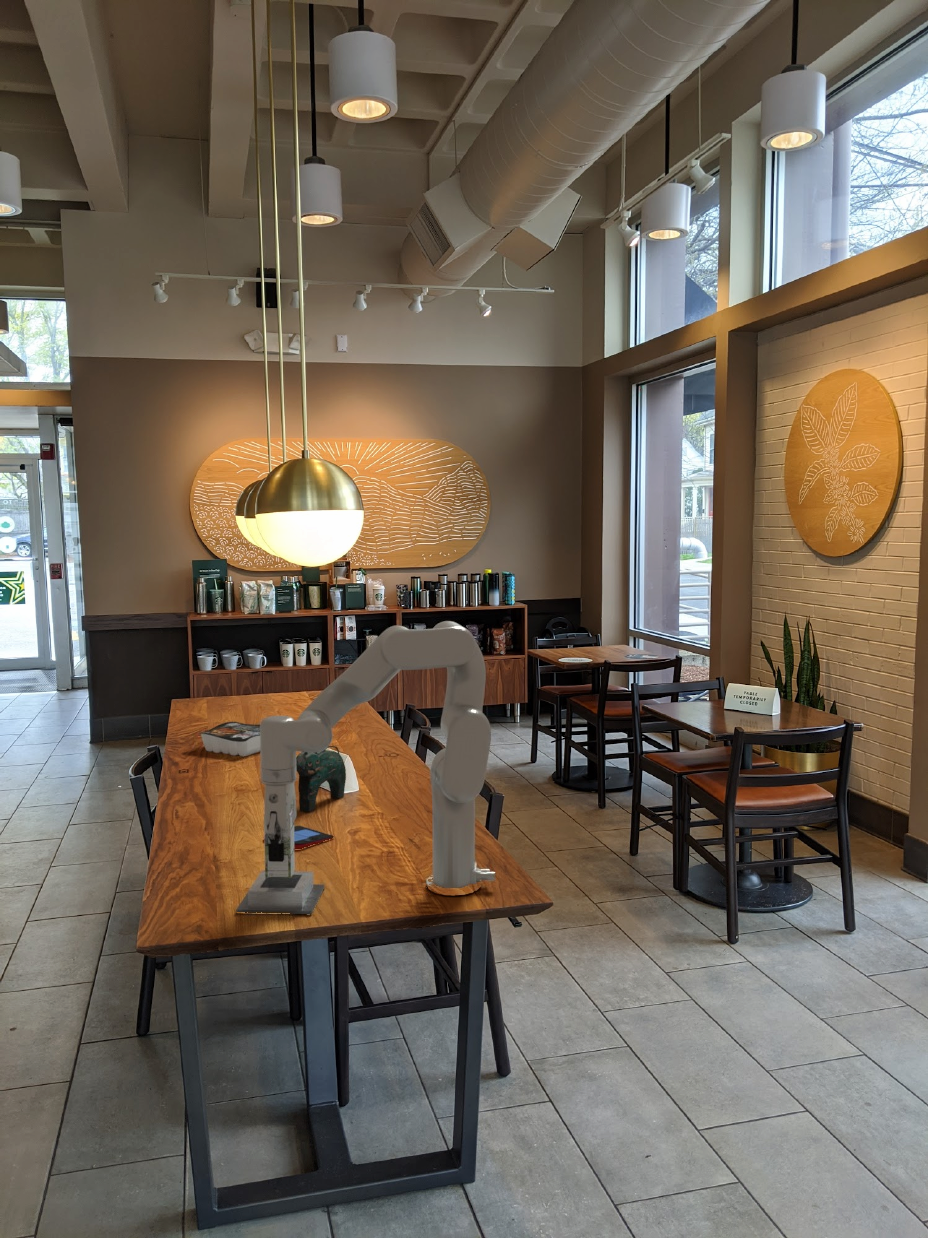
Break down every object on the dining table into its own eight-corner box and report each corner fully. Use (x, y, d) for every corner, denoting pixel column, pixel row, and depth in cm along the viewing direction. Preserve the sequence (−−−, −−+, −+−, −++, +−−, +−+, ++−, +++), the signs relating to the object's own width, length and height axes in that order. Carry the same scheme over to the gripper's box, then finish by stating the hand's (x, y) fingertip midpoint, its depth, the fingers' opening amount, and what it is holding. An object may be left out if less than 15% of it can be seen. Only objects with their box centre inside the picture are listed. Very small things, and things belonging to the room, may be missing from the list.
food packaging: (192, 731, 332) (235, 719, 352) (193, 752, 333) (236, 739, 353) (246, 739, 321) (287, 726, 341) (246, 760, 322) (288, 746, 341)
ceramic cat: (308, 815, 260) (306, 745, 258) (290, 811, 264) (288, 743, 261) (350, 797, 278) (349, 731, 276) (332, 794, 281) (331, 729, 279)
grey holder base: (324, 889, 208) (324, 869, 208) (311, 915, 194) (311, 894, 194) (253, 888, 209) (253, 868, 208) (236, 914, 195) (235, 893, 194)
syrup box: (295, 869, 204) (294, 804, 202) (291, 879, 198) (290, 813, 196) (269, 869, 203) (268, 804, 202) (264, 879, 198) (263, 813, 196)
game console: (335, 840, 241) (335, 832, 241) (297, 854, 231) (297, 845, 231) (299, 829, 250) (299, 820, 250) (261, 841, 241) (261, 833, 240)
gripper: (286, 785, 190) (288, 870, 192) (304, 763, 207) (305, 842, 209) (250, 785, 190) (252, 870, 192) (271, 763, 207) (272, 841, 209)
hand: (280, 854), depth 200 cm, fingers closed on syrup box, 6 cm apart
